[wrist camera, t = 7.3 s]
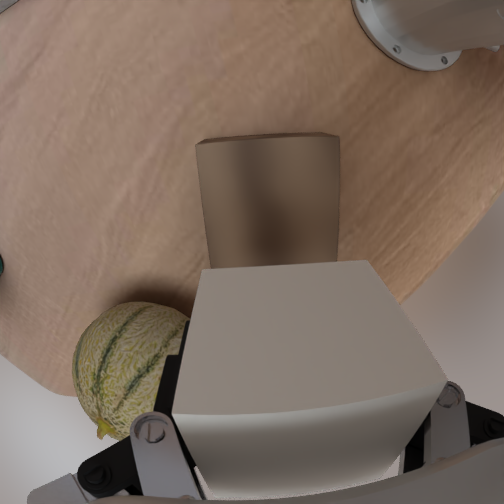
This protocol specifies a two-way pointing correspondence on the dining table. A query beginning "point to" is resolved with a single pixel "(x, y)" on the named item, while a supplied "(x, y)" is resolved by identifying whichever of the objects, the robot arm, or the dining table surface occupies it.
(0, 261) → the teal bottle
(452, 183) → the dining table surface
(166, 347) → the cantaloupe
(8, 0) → the light bulb box
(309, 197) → the walnut block
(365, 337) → the cream cube
